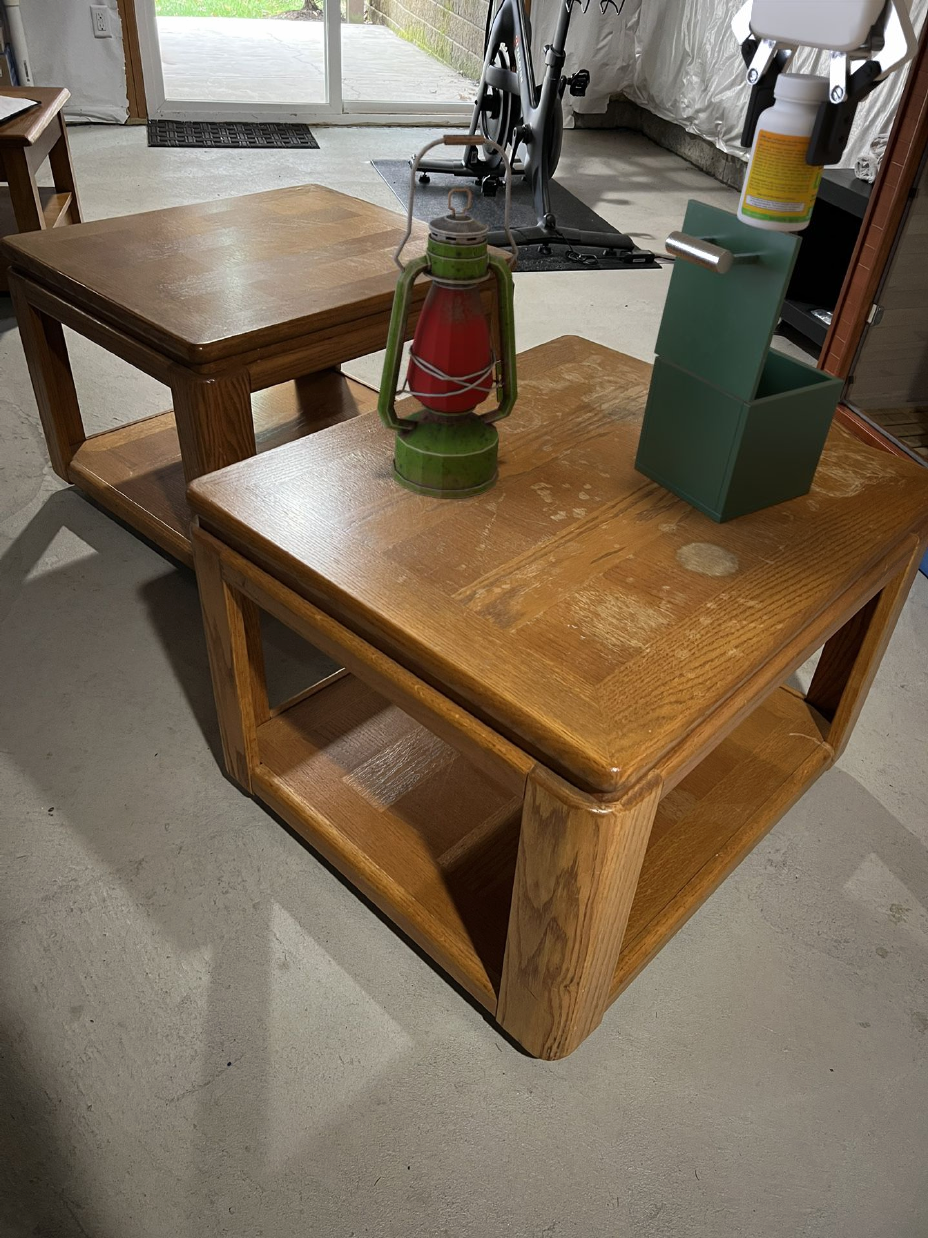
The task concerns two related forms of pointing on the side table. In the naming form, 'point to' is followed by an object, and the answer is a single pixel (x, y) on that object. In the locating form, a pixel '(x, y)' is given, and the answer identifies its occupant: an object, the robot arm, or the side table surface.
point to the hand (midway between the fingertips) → (789, 152)
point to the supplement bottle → (784, 157)
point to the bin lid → (724, 297)
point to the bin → (736, 435)
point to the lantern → (451, 353)
